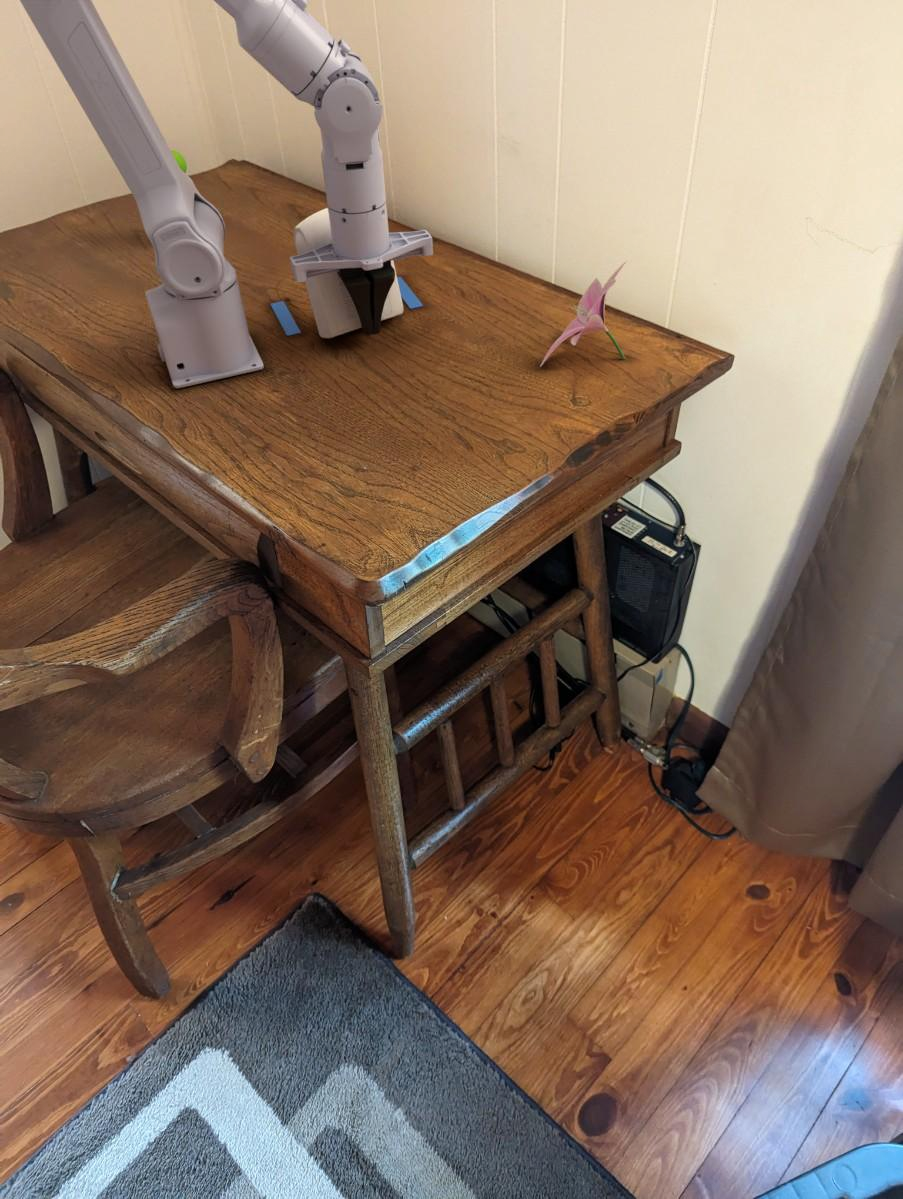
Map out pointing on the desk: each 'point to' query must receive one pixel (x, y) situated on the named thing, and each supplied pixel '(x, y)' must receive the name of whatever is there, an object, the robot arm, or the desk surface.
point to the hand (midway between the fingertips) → (370, 330)
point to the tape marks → (292, 328)
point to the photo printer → (334, 284)
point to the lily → (589, 314)
